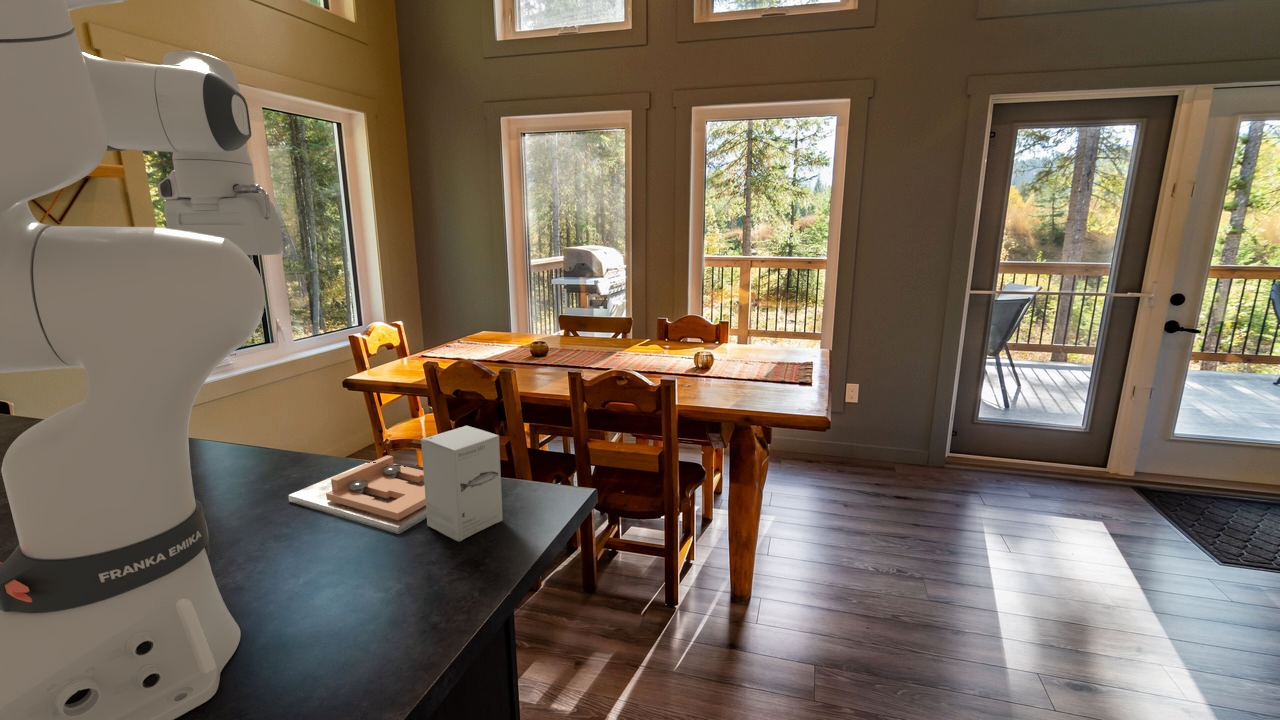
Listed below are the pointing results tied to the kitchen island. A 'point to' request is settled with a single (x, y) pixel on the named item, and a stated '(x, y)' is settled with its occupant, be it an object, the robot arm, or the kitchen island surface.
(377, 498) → the boss plate
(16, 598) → the robot arm
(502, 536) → the kitchen island surface
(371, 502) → the panel
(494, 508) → the supplement box
